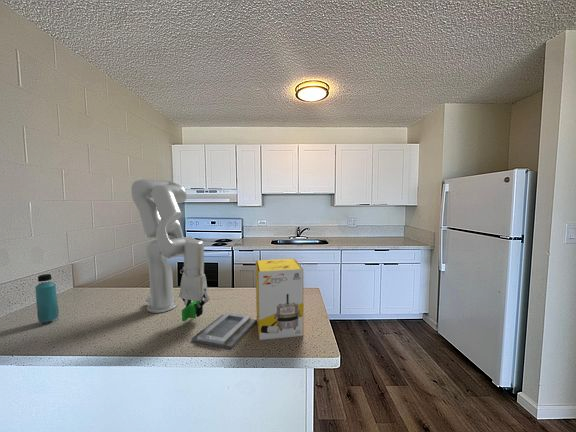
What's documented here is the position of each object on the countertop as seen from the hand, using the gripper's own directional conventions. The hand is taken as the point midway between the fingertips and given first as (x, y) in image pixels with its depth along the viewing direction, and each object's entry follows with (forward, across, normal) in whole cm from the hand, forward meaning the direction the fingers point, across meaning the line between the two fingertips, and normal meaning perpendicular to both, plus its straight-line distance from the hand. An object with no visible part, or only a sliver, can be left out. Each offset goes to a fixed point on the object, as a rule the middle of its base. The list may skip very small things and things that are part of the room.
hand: (194, 313), depth 108 cm
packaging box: (+2, +34, +6) cm, 35 cm away
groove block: (+3, +16, -2) cm, 17 cm away
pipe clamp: (+1, 0, 0) cm, 1 cm away
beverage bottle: (+6, -58, -18) cm, 61 cm away
